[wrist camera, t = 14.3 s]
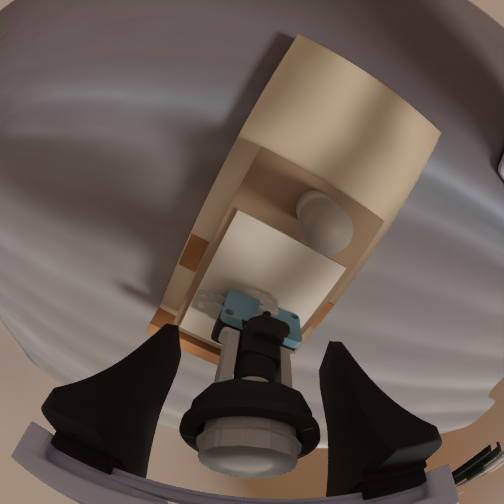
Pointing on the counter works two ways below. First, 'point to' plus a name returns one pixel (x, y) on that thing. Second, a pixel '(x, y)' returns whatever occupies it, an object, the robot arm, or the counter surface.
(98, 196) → the counter surface
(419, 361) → the counter surface
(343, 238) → the carriage
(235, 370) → the push button
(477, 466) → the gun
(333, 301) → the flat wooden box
